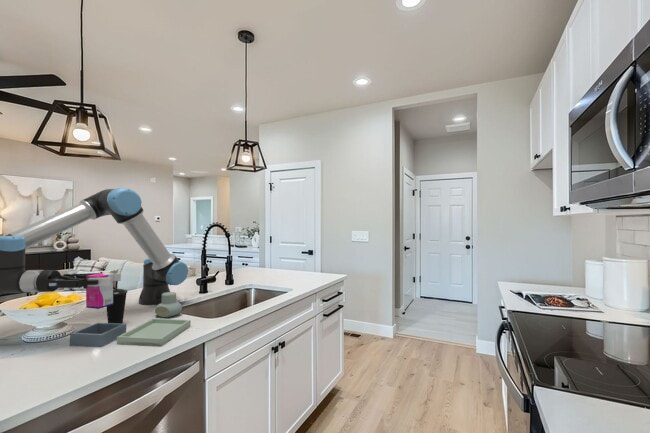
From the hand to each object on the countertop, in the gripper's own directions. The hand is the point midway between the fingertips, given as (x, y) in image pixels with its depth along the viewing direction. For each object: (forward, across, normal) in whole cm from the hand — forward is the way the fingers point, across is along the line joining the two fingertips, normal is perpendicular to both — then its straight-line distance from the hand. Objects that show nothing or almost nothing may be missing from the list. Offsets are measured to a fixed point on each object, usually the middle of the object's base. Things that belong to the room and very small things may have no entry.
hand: (115, 279), depth 111 cm
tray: (+13, -2, -22) cm, 26 cm away
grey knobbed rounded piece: (+11, -26, -22) cm, 36 cm away
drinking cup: (-6, -15, -22) cm, 27 cm away
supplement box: (-5, 0, -10) cm, 11 cm away
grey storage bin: (-5, 0, -22) cm, 22 cm away
